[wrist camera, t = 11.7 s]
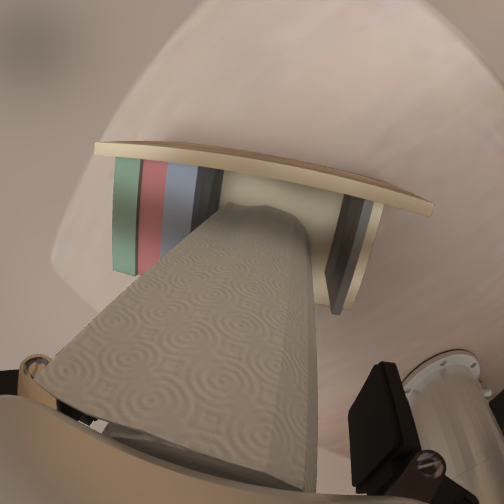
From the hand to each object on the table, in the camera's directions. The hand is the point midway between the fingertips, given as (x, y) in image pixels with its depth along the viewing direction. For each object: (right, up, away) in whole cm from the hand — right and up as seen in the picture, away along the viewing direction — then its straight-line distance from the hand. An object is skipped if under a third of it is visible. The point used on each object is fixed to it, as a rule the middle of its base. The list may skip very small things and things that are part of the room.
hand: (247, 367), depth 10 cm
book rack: (+1, +7, +16) cm, 17 cm away
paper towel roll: (+2, +6, +15) cm, 16 cm away
